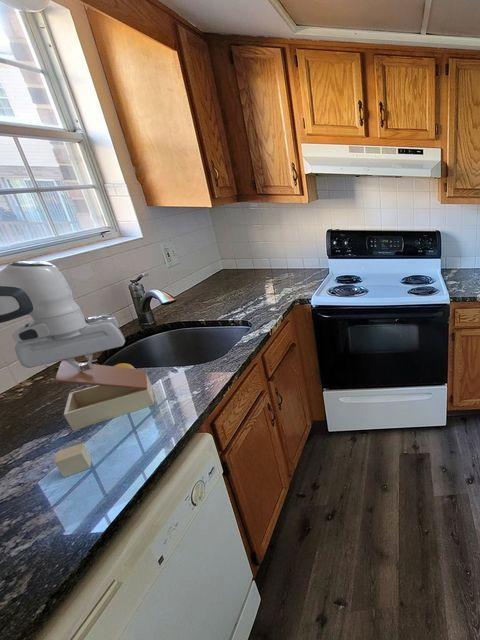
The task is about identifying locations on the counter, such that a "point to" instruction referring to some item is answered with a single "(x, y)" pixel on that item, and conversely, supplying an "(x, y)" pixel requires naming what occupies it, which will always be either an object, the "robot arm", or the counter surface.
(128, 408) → the case
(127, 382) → the cover
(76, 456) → the tan block
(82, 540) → the counter surface
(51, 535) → the counter surface
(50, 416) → the counter surface
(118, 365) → the yellow rounded lump
